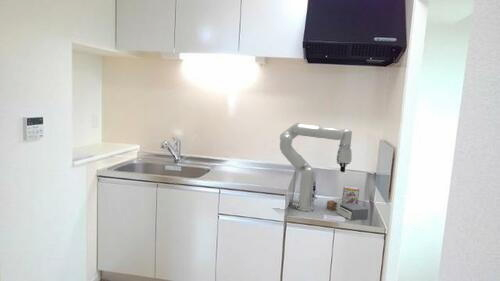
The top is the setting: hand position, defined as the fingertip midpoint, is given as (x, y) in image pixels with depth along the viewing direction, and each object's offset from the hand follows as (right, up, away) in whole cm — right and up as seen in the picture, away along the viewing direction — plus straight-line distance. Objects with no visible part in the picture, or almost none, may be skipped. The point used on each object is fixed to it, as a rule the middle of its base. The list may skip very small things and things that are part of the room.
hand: (342, 171), depth 236 cm
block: (-7, -28, +5) cm, 30 cm away
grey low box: (+6, -30, -6) cm, 32 cm away
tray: (+4, -30, -7) cm, 31 cm away
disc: (+4, -28, -7) cm, 29 cm away
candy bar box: (+8, -29, +9) cm, 31 cm away
